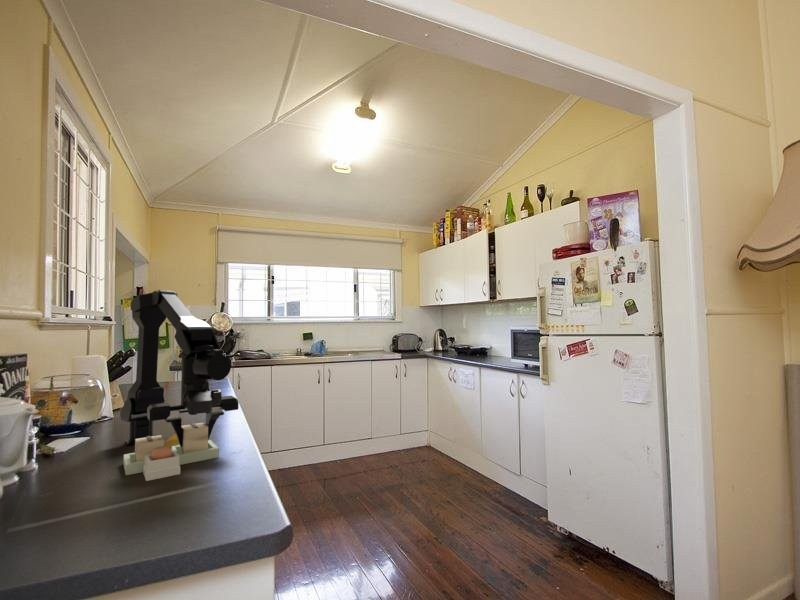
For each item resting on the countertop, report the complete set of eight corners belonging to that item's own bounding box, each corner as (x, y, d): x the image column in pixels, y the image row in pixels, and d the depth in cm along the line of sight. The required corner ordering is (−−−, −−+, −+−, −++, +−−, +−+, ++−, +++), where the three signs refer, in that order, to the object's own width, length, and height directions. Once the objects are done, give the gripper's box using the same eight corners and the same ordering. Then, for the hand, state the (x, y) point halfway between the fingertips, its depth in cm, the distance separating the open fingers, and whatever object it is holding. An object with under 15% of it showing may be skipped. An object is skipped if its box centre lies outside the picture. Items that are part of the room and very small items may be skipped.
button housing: (143, 474, 85) (143, 455, 85) (175, 468, 88) (175, 449, 89) (146, 483, 80) (146, 462, 80) (180, 476, 84) (180, 456, 84)
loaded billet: (134, 464, 90) (135, 438, 91) (160, 459, 93) (161, 434, 94) (136, 470, 86) (137, 442, 87) (163, 465, 89) (164, 438, 90)
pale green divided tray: (123, 466, 91) (123, 454, 91) (210, 450, 101) (210, 439, 102) (125, 477, 83) (126, 465, 84) (219, 459, 94) (219, 448, 94)
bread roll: (159, 454, 99) (160, 438, 99) (170, 444, 108) (170, 429, 108) (197, 451, 101) (197, 435, 102) (204, 441, 110) (204, 426, 110)
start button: (150, 458, 85) (151, 448, 85) (170, 454, 87) (170, 445, 87) (152, 462, 82) (153, 452, 82) (173, 458, 84) (173, 448, 84)
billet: (180, 449, 96) (180, 425, 96) (203, 445, 99) (203, 421, 99) (183, 454, 92) (184, 429, 92) (207, 450, 95) (208, 425, 95)
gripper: (153, 385, 84) (151, 461, 83) (245, 377, 96) (244, 444, 95) (147, 379, 93) (146, 449, 92) (232, 373, 104) (231, 434, 103)
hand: (193, 444), depth 95 cm, fingers closed on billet, 5 cm apart
